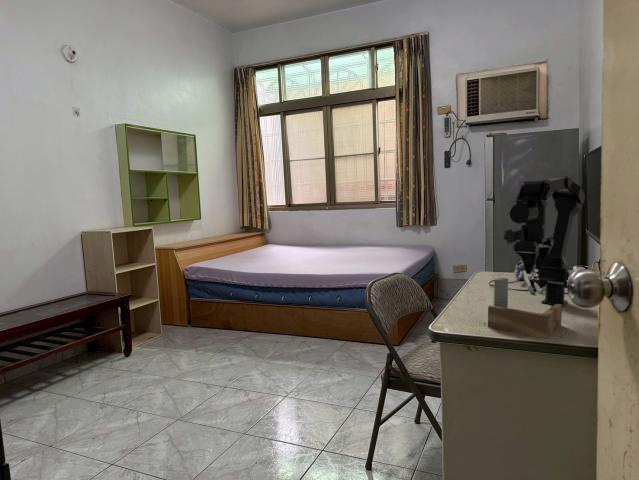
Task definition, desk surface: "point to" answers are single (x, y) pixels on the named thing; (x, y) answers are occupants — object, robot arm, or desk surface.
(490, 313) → the walls
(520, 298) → the desk surface
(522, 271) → the toy
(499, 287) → the bracket
